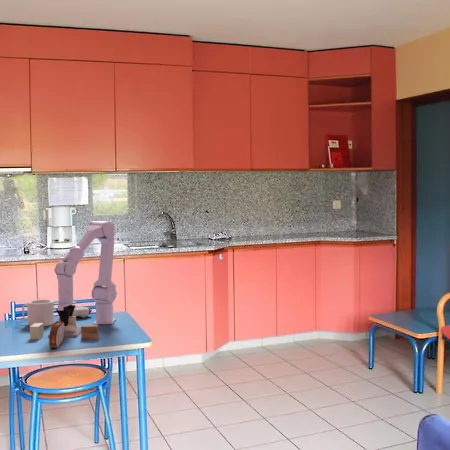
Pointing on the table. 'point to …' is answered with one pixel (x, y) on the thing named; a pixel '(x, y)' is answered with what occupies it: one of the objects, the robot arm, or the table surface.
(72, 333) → the slate plate
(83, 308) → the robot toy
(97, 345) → the table surface
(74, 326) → the tan block
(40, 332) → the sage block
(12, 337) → the table surface
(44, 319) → the mug
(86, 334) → the walnut block
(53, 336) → the tin
